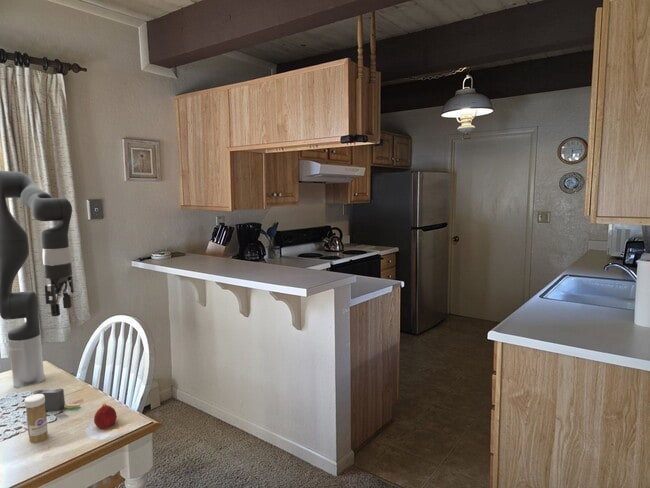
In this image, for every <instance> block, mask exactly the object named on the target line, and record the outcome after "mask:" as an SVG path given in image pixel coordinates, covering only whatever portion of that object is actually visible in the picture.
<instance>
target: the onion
mask: <svg viewBox="0 0 650 488" xmlns="http://www.w3.org/2000/svg"><path fill="white" fill-rule="evenodd" d="M93 418H94V419H93V422H94V425H95V427H97V428H99V429H101V430H103V429H108V428H111V427H113V426H114V425H115V422H116V421H117V418H118V415H117V412H116V409H115V408H114V407H113V406H110V405H107V404H106V403H105V402H102V405H101V407H99V409H97V411H96V412H95V414H94V417H93Z"/></svg>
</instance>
